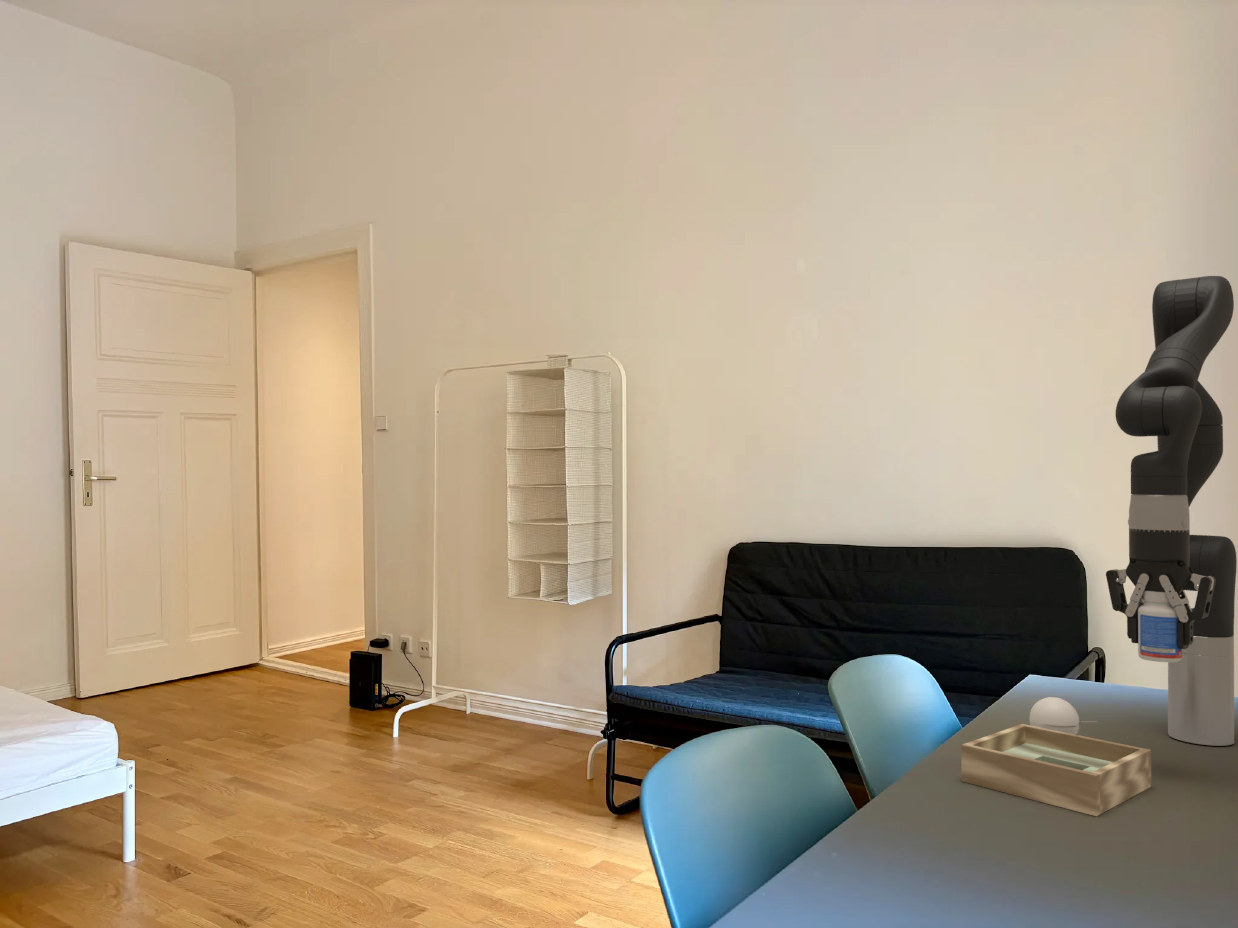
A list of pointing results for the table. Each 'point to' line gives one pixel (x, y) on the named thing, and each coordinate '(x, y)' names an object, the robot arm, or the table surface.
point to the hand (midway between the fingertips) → (1159, 644)
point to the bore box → (1057, 768)
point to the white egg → (1055, 715)
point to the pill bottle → (1158, 629)
